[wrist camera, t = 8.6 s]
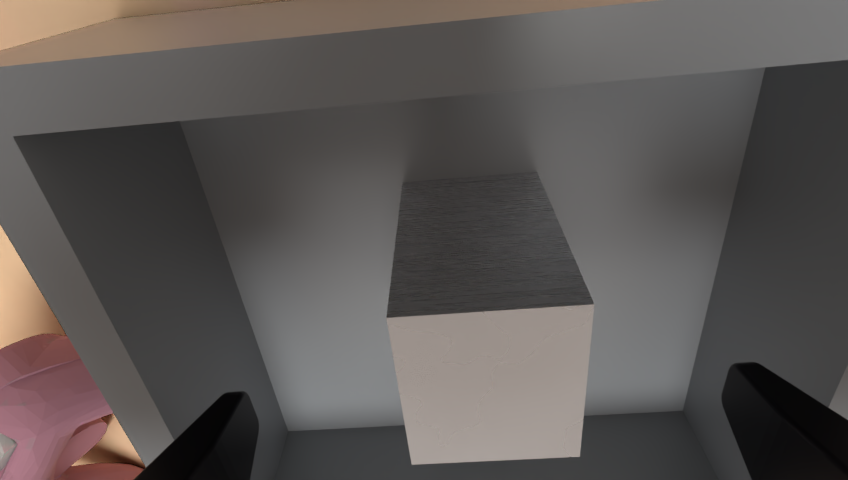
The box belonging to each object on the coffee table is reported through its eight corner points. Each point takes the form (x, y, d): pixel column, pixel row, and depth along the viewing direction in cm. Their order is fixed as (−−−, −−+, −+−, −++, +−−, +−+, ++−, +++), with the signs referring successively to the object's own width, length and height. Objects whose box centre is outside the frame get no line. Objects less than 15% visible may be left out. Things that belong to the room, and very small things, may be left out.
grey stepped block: (537, 171, 13) (594, 304, 9) (532, 389, 17) (570, 559, 13) (402, 182, 13) (386, 318, 9) (429, 394, 18) (428, 564, 13)
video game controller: (149, 262, 18) (-123, 357, 11) (243, 350, 17) (5, 502, 11) (89, 426, 22) (-131, 557, 16) (161, 501, 21) (-40, 669, 15)
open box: (825, -57, 11) (1116, -46, 6) (699, 414, 19) (788, 576, 14) (115, 18, 12) (-90, 75, 7) (272, 436, 20) (222, 595, 15)
